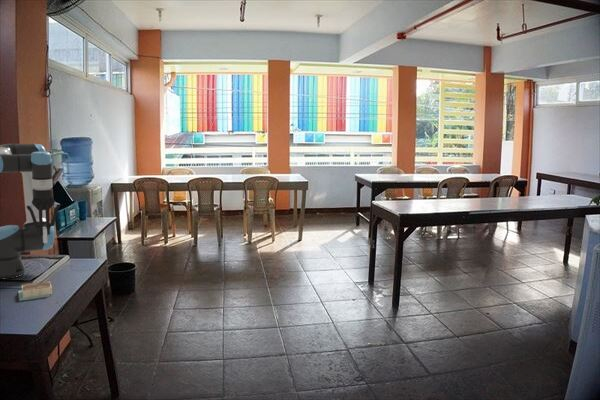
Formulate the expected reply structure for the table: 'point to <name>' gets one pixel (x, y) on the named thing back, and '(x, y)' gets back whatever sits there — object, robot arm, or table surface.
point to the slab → (36, 289)
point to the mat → (30, 297)
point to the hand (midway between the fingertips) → (45, 242)
